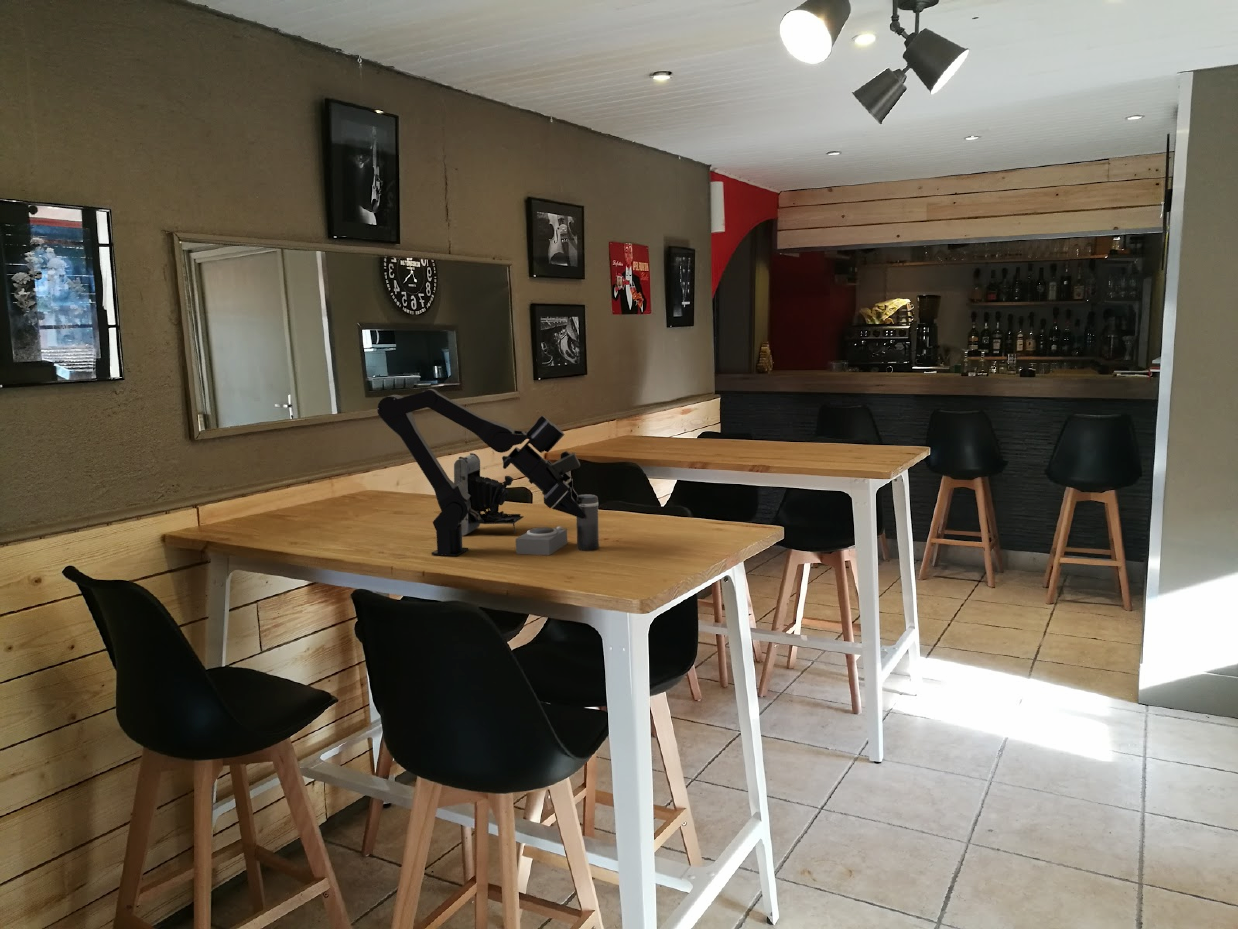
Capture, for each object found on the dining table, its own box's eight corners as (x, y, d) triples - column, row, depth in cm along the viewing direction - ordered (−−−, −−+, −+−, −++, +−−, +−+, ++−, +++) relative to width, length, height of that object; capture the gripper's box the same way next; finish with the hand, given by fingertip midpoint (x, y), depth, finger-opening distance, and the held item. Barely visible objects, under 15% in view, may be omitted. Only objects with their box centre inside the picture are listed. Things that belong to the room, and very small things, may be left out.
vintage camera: (513, 539, 219) (513, 459, 216) (453, 536, 222) (452, 456, 219) (524, 531, 228) (524, 454, 226) (467, 528, 231) (467, 452, 228)
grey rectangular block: (549, 555, 199) (548, 536, 199) (516, 553, 202) (515, 534, 201) (567, 543, 211) (566, 525, 210) (535, 542, 213) (535, 524, 212)
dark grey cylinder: (595, 551, 202) (594, 498, 200) (573, 550, 203) (572, 497, 202) (602, 546, 207) (601, 494, 205) (581, 545, 208) (579, 493, 207)
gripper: (556, 446, 192) (609, 494, 194) (560, 437, 211) (608, 481, 213) (521, 483, 193) (574, 531, 195) (528, 471, 212) (576, 515, 213)
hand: (584, 513), depth 204 cm, fingers open, 9 cm apart
